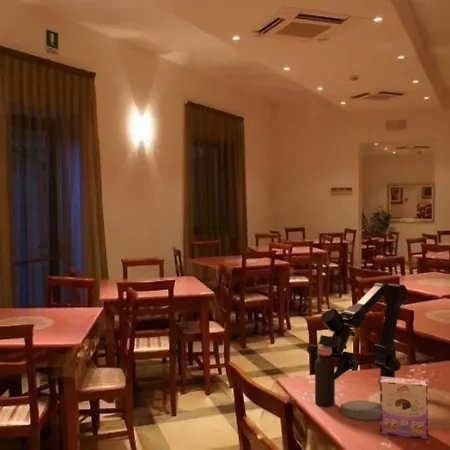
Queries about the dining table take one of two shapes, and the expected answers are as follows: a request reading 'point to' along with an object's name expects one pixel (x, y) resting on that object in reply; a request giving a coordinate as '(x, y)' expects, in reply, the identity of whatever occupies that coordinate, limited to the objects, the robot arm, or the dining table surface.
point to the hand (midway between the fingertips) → (322, 376)
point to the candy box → (404, 407)
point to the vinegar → (324, 377)
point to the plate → (361, 410)
